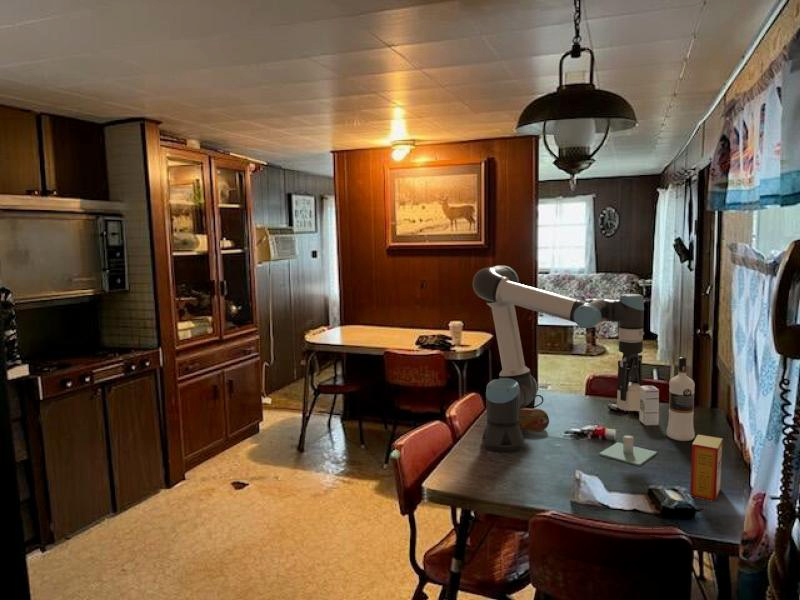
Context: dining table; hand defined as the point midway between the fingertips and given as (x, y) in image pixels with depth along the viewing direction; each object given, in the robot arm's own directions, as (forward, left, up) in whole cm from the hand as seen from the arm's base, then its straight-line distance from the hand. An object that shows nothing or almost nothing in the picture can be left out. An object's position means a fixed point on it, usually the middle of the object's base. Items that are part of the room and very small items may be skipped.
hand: (629, 406), depth 198 cm
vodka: (+28, -7, -17) cm, 34 cm away
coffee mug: (+15, +50, -17) cm, 55 cm away
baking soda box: (-13, -29, -17) cm, 36 cm away
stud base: (0, 0, -17) cm, 17 cm away
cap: (0, 0, 0) cm, 0 cm away
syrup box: (+36, +8, -17) cm, 41 cm away
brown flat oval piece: (-1, +39, -17) cm, 43 cm away
